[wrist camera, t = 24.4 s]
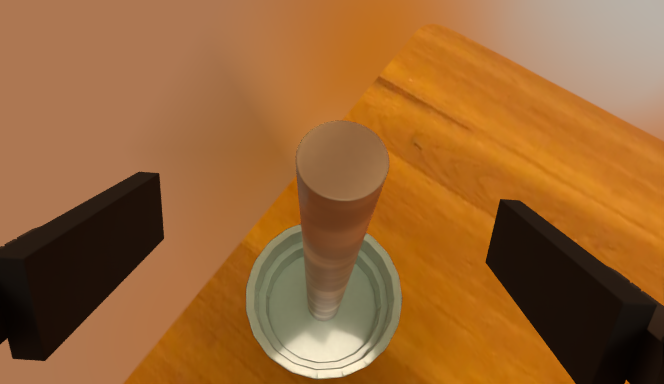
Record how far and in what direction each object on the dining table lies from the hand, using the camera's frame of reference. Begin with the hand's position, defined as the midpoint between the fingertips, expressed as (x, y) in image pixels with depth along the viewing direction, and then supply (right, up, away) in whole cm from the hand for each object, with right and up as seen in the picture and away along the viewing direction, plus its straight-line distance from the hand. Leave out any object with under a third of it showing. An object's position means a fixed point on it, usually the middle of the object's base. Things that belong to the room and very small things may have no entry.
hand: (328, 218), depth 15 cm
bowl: (-1, -9, +18) cm, 20 cm away
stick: (-1, -8, +17) cm, 19 cm away
